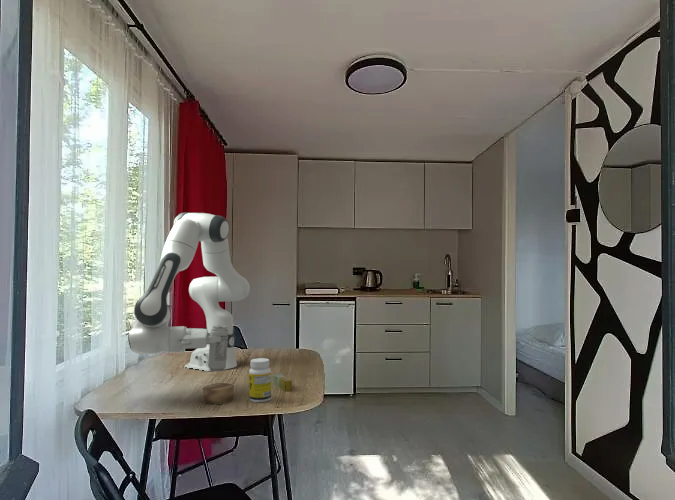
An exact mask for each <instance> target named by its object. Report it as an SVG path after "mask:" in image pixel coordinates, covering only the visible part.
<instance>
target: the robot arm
mask: <svg viewBox="0 0 675 500" xmlns="http://www.w3.org/2000/svg"><path fill="white" fill-rule="evenodd" d="M229 223H230V222H229V221H228V219H227V218H226V217H224V216H222V215H219V214H217V215H215V214H211V213H205V212H189V211H188V212H181V213H178V215H177V216H176V217H175V218H174V220H173V225H172V228H171V230H170V232H169V234H168V236H167V238H166V239H165V240H166V241H165V242H164V245H163V249H162V251H161V256H160V260H159V264H158V266H157V268H156V271H155V273H154V275H153V277H152V280H151V282H150V285H149V286H148V289H147V290H146V291H144V293H143V295H141V297H140V298H138V300H137V301H136V302H135V305H134V309H133V310H134V311H133V313H134V316H135V318H136V319H137V321H136V322H135V323H134V325H133V327H132V328H131V329H130V330H129V331H128V334H127V336H128V337H127V340H128V345H129V348H130V350H131V351H132V352H133V353H135V354H138V355H139V354H140V355H154V354H155V355H156V354H160V353H167V354H172V353H173V354H174V353H175V354H177V353H185V351H186V349H189V350H190V349H191V350H192V349H194V350H193V351H192V352H191V354H190V359H189V360H190V361H189V362H187V363H186V364H185V365H184V368H185V367H187V368H186V369H189V368H193V369H192V370H195V369H199V370H198V371H202V370H204V371H203V372H212V371H211V370H210V368H209V367H208V362H209V348H210V343H214V342H220V341H221V337H220V336H215V337H210V334H211V330H212V328H213V326H227V330H228V344H227V358H226V368H224V370H228V369H233V368H236V367H238V363H237V362H238V361H237V357H236V353H235V333H234V316H233V315H232V313H231V312H230V311H228V310H226V309H223V308H222V307H221V306H220V304H219V302H223V303H224V302H238V301H242V300H243V301H244V300H245V299H247V298H248V296H249V294H250V289H251V286H250V283H249V280H248V279H246V277H244V276H242V275H241V274H240V273H238V271H236V270H235V268H234V266H233V263H232V261H231V255H230V247H229V246H230V245H229V239H228V236H229V235H230V224H229ZM199 242H200V244H201V245H200V248H201V256H202V263H203V267H204V268H205V269H206V271H208V272H210V273H212V274H214V275H216V276H202V277H197V278H193V279H192V280H191V282H190V283H189V287H188V293H189V297H190V298H191V300H193V301H194V302H196V303H197V304H198V305H199V307H200V308H201V309H202V310H203V313H204V315H205V321H206V328H195V327H194V328H193V327H189V328H187V326H184V325H182V326H181V325H179V326H177V325H176V326H169V324H170V320H171V311H170V308H169V306H168V301H167V300H168V299H167V298H168V295H169V292H170V289H171V287H172V285H173V283H174V280H175V277H176V276H177V274H179V272H183V271H185V270H187V269H188V268H189V266H190V265H191V263H192V261H193V260H194V257H195V254H196V252H197V249H198V246H199Z"/></svg>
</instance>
